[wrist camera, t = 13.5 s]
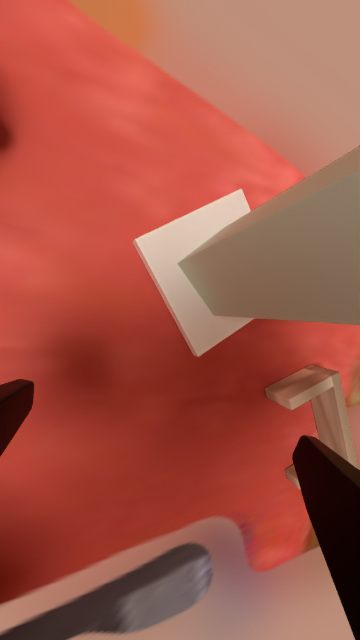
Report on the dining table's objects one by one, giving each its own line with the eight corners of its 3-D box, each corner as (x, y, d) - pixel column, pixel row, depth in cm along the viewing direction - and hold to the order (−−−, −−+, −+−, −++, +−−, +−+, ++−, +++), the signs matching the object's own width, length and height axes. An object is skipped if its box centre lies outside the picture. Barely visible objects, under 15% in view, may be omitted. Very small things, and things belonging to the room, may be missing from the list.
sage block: (213, 315, 19) (468, 332, 6) (177, 263, 18) (402, 147, 5) (254, 278, 21) (542, 228, 7) (223, 227, 19) (503, 59, 6)
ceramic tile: (193, 354, 20) (198, 357, 19) (132, 242, 18) (135, 239, 17) (278, 297, 23) (286, 296, 22) (234, 193, 21) (241, 188, 20)
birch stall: (287, 478, 24) (312, 500, 21) (264, 388, 23) (288, 399, 20) (329, 449, 26) (357, 466, 23) (310, 364, 25) (339, 371, 22)
